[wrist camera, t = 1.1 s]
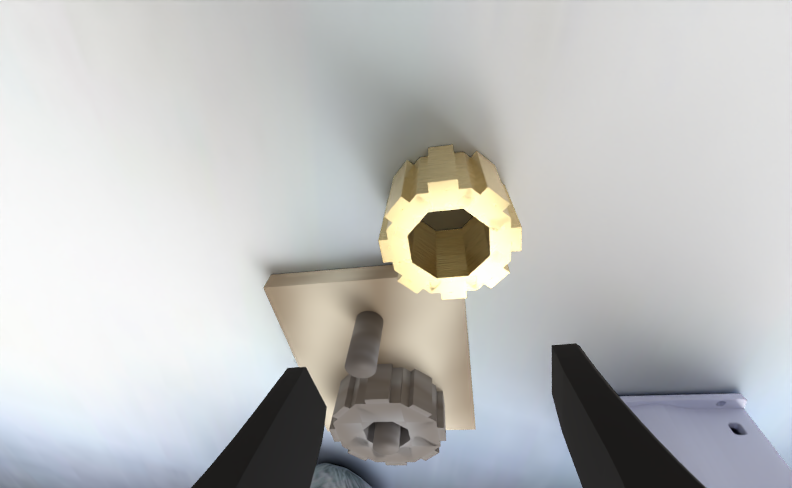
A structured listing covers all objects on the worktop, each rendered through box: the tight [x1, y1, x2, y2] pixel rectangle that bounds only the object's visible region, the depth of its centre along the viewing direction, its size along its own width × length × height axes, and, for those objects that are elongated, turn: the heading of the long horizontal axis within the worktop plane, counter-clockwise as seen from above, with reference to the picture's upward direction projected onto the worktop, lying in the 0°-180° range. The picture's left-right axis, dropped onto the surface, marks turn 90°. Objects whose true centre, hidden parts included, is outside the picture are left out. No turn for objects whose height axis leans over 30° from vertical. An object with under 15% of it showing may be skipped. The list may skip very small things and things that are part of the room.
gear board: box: [264, 265, 475, 465], centre depth 23 cm, size 11×14×4 cm
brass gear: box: [378, 144, 522, 300], centre depth 16 cm, size 6×6×4 cm
